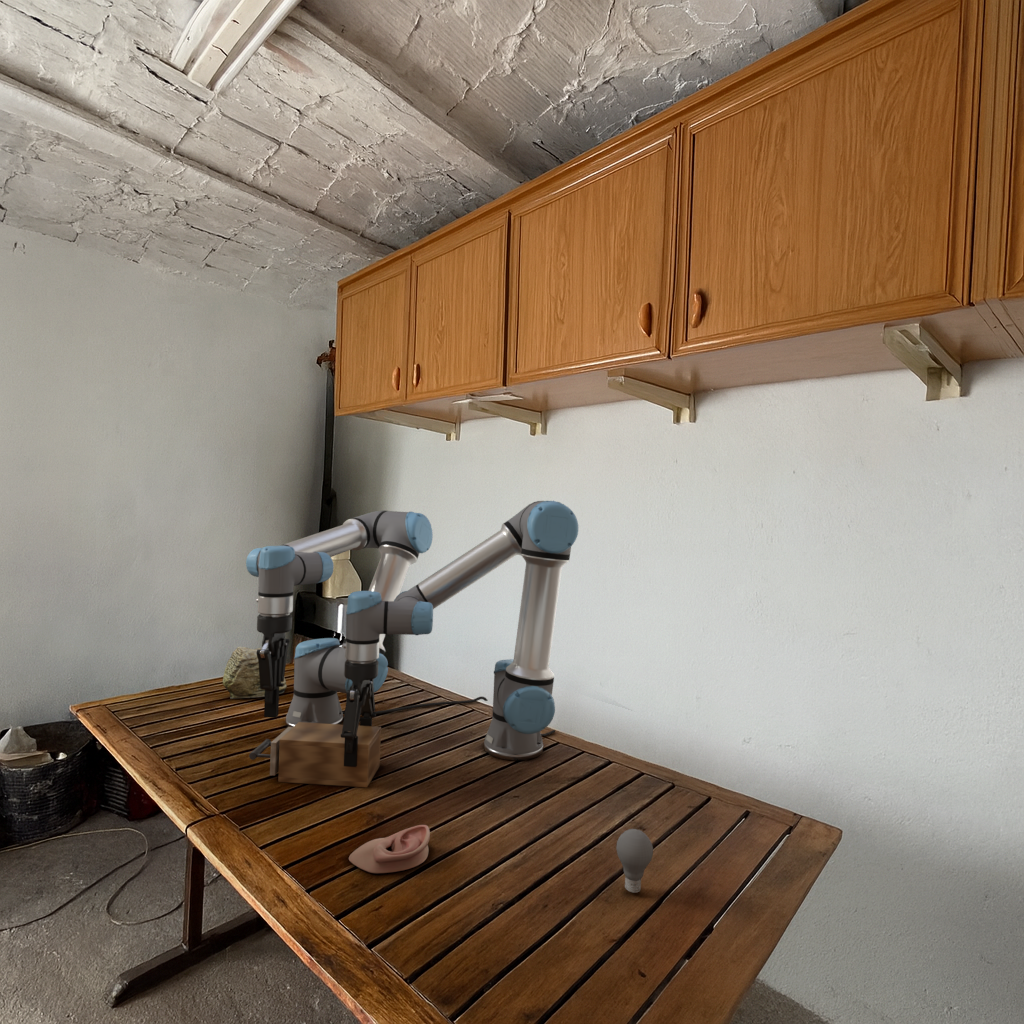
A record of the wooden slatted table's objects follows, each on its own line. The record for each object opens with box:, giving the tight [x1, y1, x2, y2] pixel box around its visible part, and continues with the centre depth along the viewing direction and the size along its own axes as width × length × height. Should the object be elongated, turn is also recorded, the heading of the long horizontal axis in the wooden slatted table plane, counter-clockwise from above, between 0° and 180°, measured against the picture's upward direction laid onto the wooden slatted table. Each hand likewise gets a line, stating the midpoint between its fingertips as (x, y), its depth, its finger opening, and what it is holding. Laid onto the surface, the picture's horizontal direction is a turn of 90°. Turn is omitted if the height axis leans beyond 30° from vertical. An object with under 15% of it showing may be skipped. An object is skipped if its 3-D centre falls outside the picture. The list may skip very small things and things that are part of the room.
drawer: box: [248, 727, 293, 776], centre depth 145 cm, size 24×10×7 cm, turn 88°
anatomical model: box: [348, 824, 431, 874], centre depth 113 cm, size 13×4×12 cm
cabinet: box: [277, 722, 382, 788], centre depth 145 cm, size 20×11×10 cm, turn 88°
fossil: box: [222, 646, 288, 699], centre depth 198 cm, size 9×18×15 cm, turn 132°
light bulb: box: [615, 828, 654, 894], centre depth 106 cm, size 6×6×10 cm
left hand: (271, 716), depth 145 cm, fingers closed
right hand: (358, 755), depth 145 cm, fingers closed on cabinet, 11 cm apart
